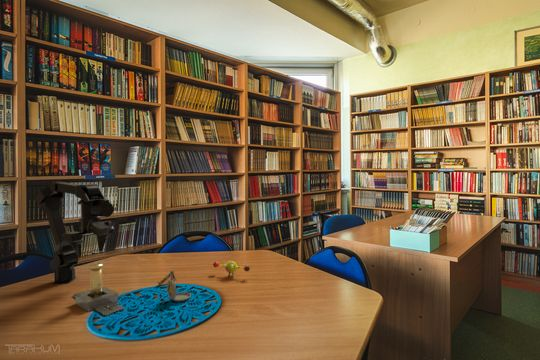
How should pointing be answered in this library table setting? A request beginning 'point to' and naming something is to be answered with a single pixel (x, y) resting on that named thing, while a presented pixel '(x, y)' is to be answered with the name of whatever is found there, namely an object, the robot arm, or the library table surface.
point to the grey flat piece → (98, 301)
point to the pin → (96, 279)
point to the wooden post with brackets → (167, 278)
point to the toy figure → (231, 267)
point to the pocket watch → (172, 292)
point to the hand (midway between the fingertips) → (90, 254)
